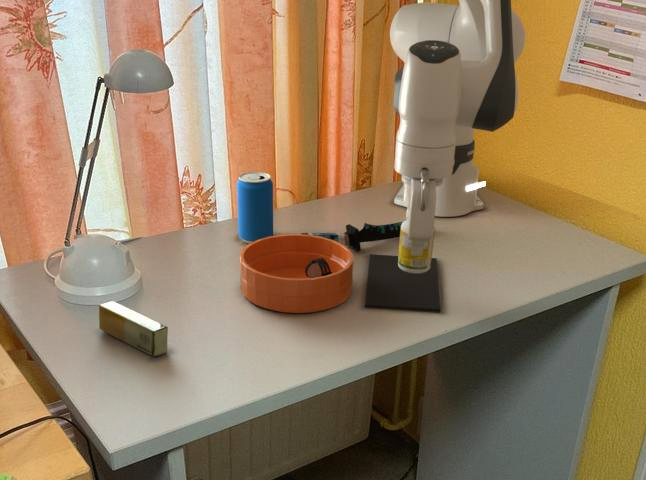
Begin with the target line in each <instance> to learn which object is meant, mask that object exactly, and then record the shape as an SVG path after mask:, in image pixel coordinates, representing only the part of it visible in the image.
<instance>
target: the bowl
mask: <svg viewBox="0 0 646 480" xmlns="http://www.w3.org/2000/svg"><path fill="white" fill-rule="evenodd" d="M319 258H323V259H325V260H326V262H327V263H328V265H329V267H330V271H331V272H332V274H329V275H326V276H322V277H316V278H309V277H308V276H306V273H305V269H306V267H307V265H308V264H309V263H310V262H311V261H312V260H314V259H319ZM354 259H355V258H354V254H353V253H352V251H351V249H350V248H348V246H345V245H343V244H341V243H339V242H337V241H334V240H331V239H328V238H324V237H319V236H313V235H303V234H301V233H290V234H288V233H287V234H278V235H273V236H270V237H266V238H262V239H259V240H256V241H254V242H252V243H250V244H249V243H247V245H246V246H244V247H243V248H242V249H241V251H240V254H239V272H240V273H239V274H240V277H239V278H240V290H241V294H242V295H243V296H244V297H245V298H246V300H247V301H249V302H251V303H252V304H254V305H256V306H258V307H260V308H263V309H267V310H271V311H276V312H281V313H289V314H306V313H314V312H315V313H316V312H321V311H325V310H326V311H327V310H329V309H331V308H335V307H337V306H340V305H341V304H342V303H344V302H346V301H347V300H348V299H349V298H350V297H351V295H352V292H353V281H354V280H353V278H354V277H353V276H354ZM326 266H327V265H326ZM326 268H328V267H326ZM326 270H328V269H326ZM327 272H329V271H327ZM324 273H325V272H324Z"/></svg>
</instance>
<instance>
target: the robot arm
mask: <svg viewBox="0 0 646 480" xmlns="http://www.w3.org/2000/svg"><path fill="white" fill-rule="evenodd" d="M389 41H390V45H391V47H392V50H393V52H394V53H395V55H396V56H397V57H398V58H399V59H400V60H401V61H402V62H403V63H404V64H403V65H402V66H401V67H400V68H399V69H398V70H397V71H396V72H395V76H394V90H393V91H394V92H393V104H392V108H393V109H394V111H395V112H396V113H397V116H399V127H398V129H397V132H396V136H395V150H394V161H393V163H394V164H393V169H394V171H395V172H396V173H397V174H399V175H401V181H402V183H403V184H402V186H401V187H400V189H399V191H398V192H397V194H396V195H395V197H394V199H393V201H394V202H393V204H395V205H398V206H401V207H405V208H406V209H407V208H408V213H407V219H406V220H407V221H408V238H409V239H410V240H412V244H411V255H413V256H421V255H422V254H423V245H424V242H425V241H430V240H431V239H432V236H433V229H434V227H435V218H436V217H440V218H449V217H450V218H451V217H452V218H453V217H460V216H464V215H468V214H470V213H471V212H475V211H479V210H484V204H485V203H484V202H483V201H482V200H481V199H480V197H479V196H478V193H477V192H478V189H480V188H482V187H483V188H484V187H486V184H487V183H486V181H480V182H479V172H480V170H479V169H478V167H477V165H475V163H474V162H473V159H474V154H475V152H476V151H475V150H476V147H475V145H476V141H475V139H474V135H475V130H479V131H484V132H490V133H492V132H493V133H494V132H496V131H497V130H499V129H501V128H503V127H504V126H505V125H506V124H508V123H509V122H510V121H511V120H513V119H514V116H515V113H516V110H517V106H518V104H519V103H518V102H519V84H518V83H519V82H518V78H517V73H516V69H515V67H516V66H515V64H516V63H517V62H518V60H519V59H520V57H521V55H522V54H523V51H524V48H525V44H526V29H525V26H524V24H523V21H522V20H521V18H520V17H519V16H518V14H516V13H515V12H514V11H513V9H512V0H458V4H451V3H441V2H430V1H429V2H428V1H424V2H416V3H409V4H404V5H402V6H401V7H400V8H399V9H398V11H397V12H396V13H395V14H394V16H393V18H392V21H391V24H390V28H389ZM421 210H422V211H421ZM423 210H424V211H423Z"/></svg>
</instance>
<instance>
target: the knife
mask: <svg viewBox="0 0 646 480" xmlns="http://www.w3.org/2000/svg"><path fill="white" fill-rule="evenodd" d="M404 221H405V220H403V221H398V222H394V223H388V224H380V225H379V224H378V225H377V224H376V225H375V224H370V223H366V222H364V224H363V227H362V228H361V229H360V230H359V229H358V228H357V227H355V226H353V225H352V224H350V223H348V224H346V225H345V232H302V233H300V234H303V235H313V236H319V237H324V238H328V239H331V240H334V241H337V242H339V243H341V244H343V245H345V246H346V247H349V249H352V250H354V251H356V252H357V253H358V252H361V250H362V248H361V247H362V246H361V244H362V243H372V242H379V241H385V240H393V239H398V238H400V231H401V225H402V223H403V222H404Z"/></svg>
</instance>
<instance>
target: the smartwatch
mask: <svg viewBox="0 0 646 480" xmlns="http://www.w3.org/2000/svg"><path fill="white" fill-rule="evenodd" d="M326 265H327V266H326ZM326 267H328V268H326ZM326 269H328V270H326ZM327 271H329V272H327ZM324 272H325V273H324ZM305 273H306V276H308V277H309V278H316V277H322V276H326V275H329V274H332V272H331V271H330V267H329V265H328V263H327V262H326V260H325V259H323V258H319V259H314V260H312V261H311V262H310V263H309V264H308V265H307V267H306V269H305Z"/></svg>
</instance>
